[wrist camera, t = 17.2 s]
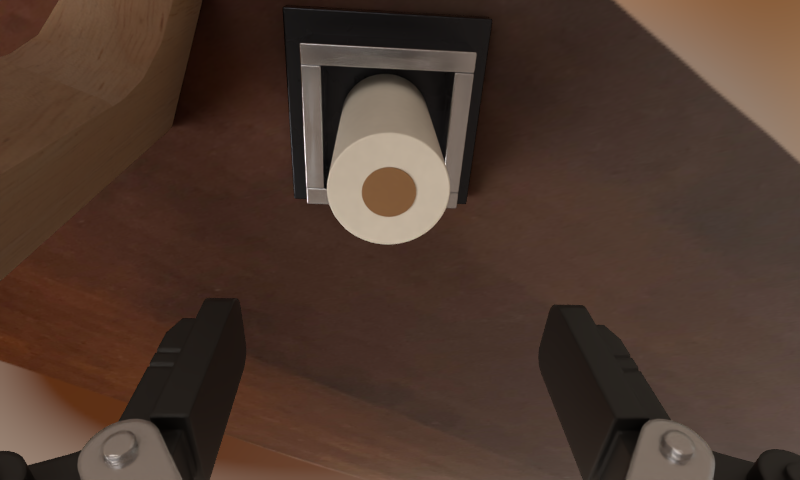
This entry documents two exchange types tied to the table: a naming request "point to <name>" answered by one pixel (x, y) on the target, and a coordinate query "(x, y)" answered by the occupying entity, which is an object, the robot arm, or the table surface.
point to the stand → (381, 54)
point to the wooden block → (84, 108)
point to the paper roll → (387, 163)
